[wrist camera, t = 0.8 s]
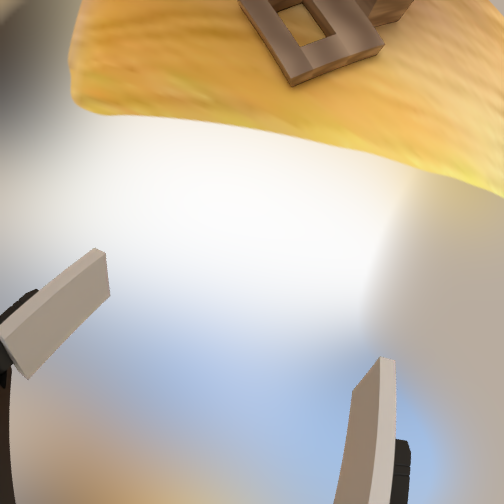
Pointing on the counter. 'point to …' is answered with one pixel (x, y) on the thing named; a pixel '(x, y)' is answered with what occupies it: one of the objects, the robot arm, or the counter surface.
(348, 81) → the counter surface
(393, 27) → the counter surface
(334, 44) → the wooden post with frame
